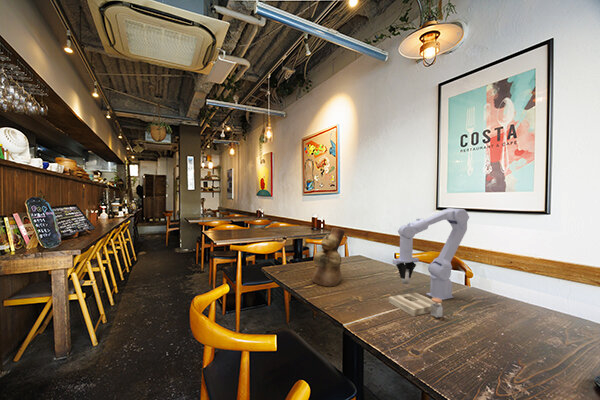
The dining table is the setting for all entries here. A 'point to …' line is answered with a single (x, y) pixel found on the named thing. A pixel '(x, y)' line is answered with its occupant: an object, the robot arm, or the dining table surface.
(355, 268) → the dining table surface
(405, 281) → the steel pin
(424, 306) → the block
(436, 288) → the robot arm
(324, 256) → the ceramic vessel
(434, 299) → the cap
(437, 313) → the plunger housing
